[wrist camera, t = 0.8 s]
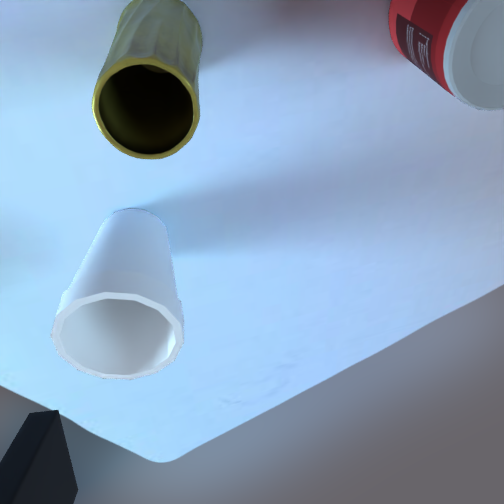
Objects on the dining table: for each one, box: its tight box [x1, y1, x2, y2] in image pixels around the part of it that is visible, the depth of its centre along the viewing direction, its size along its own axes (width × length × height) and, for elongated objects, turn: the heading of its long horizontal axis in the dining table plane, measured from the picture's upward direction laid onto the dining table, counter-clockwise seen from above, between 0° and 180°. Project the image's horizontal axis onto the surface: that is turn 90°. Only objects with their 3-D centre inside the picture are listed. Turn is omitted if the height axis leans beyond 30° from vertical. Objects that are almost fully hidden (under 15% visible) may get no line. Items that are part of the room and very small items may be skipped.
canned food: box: [389, 0, 504, 111], centre depth 31 cm, size 8×8×11 cm
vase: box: [92, 0, 202, 159], centre depth 29 cm, size 6×6×14 cm
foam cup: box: [51, 208, 184, 380], centre depth 40 cm, size 10×9×13 cm
